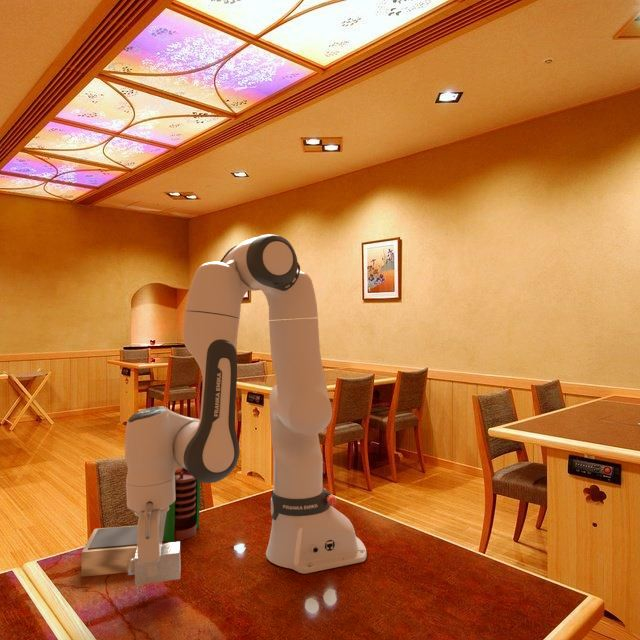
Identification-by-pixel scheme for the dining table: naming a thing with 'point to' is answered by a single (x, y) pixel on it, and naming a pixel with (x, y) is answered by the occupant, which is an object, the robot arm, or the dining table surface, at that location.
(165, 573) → the block
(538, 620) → the dining table surface
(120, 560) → the stand
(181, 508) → the motor
